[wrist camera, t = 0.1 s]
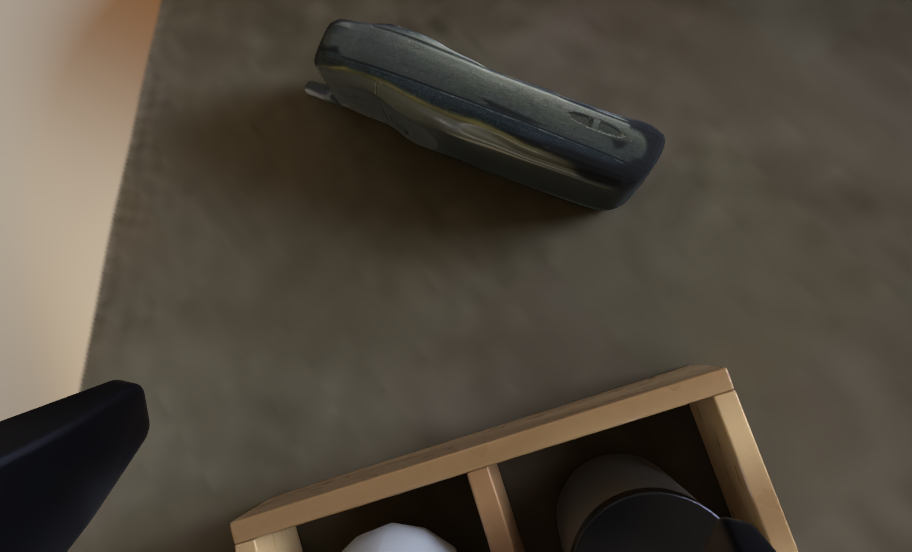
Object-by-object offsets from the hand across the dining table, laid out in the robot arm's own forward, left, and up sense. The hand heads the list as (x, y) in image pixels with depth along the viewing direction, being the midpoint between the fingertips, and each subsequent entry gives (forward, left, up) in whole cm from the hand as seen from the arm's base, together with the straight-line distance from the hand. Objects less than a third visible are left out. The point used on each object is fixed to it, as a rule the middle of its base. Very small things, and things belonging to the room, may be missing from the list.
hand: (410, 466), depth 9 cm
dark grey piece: (+11, -3, -15) cm, 19 cm away
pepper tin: (-6, -4, -15) cm, 17 cm away
